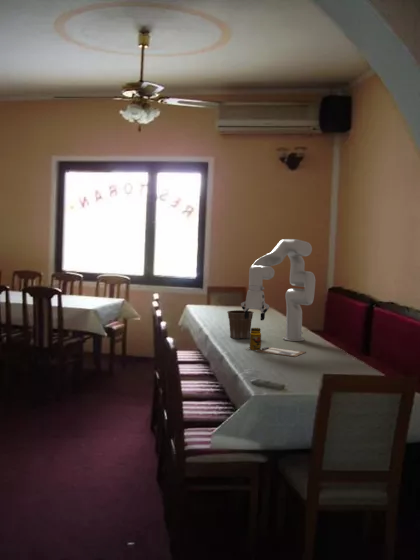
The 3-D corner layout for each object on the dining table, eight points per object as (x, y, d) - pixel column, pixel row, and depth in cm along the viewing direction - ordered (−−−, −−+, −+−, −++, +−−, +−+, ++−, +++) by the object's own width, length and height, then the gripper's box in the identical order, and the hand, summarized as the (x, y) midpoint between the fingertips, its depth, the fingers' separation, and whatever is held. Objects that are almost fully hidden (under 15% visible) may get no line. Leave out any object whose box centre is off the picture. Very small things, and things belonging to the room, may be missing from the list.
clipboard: (269, 347, 324) (269, 345, 323) (305, 352, 312) (305, 350, 312) (257, 351, 311) (257, 349, 311) (295, 357, 299) (295, 354, 299)
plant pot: (222, 338, 351) (222, 312, 350) (233, 334, 365) (234, 309, 364) (246, 340, 343) (247, 314, 342) (256, 336, 358) (257, 311, 356)
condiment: (258, 351, 313) (258, 329, 312) (244, 349, 317) (244, 328, 316) (263, 349, 319) (264, 328, 318) (249, 347, 323) (250, 326, 322)
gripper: (272, 289, 314) (271, 320, 315) (244, 287, 323) (243, 317, 324) (266, 290, 308) (265, 321, 309) (238, 288, 317) (237, 318, 318)
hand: (254, 319), depth 316 cm, fingers open, 9 cm apart
